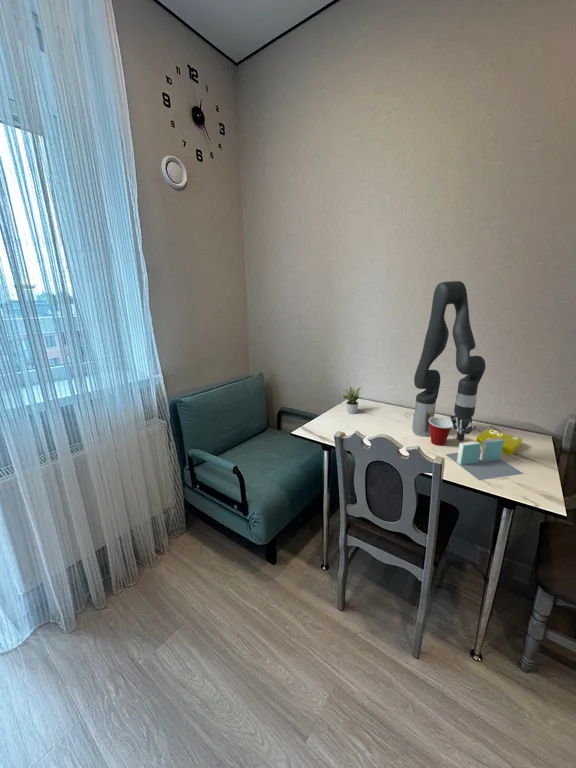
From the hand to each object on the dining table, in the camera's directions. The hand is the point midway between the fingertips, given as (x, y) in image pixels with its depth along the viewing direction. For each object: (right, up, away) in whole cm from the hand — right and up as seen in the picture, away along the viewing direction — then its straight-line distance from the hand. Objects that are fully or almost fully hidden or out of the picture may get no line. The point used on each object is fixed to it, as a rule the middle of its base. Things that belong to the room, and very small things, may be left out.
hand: (459, 440), depth 138 cm
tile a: (+1, -9, -3) cm, 9 cm away
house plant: (-35, +8, +55) cm, 66 cm away
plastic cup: (-3, -4, +14) cm, 15 cm away
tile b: (+12, -8, -1) cm, 14 cm away
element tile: (+24, -5, +11) cm, 27 cm away
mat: (+7, -10, -4) cm, 13 cm away
